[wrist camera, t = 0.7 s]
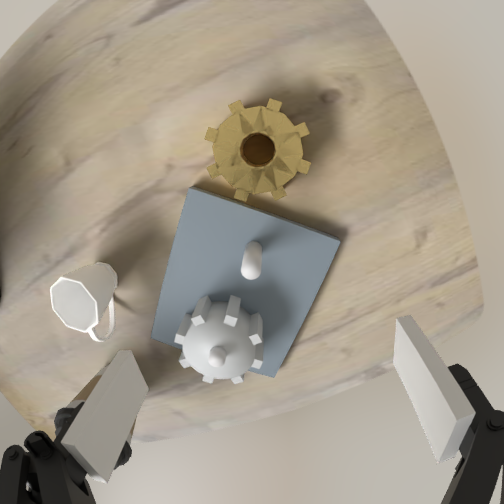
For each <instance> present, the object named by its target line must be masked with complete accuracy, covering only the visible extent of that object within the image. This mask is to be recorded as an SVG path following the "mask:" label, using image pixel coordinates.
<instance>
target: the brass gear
mask: <svg viewBox="0 0 504 504" xmlns="http://www.w3.org/2000/svg"><path fill="white" fill-rule="evenodd" d="M281 105H282V102H280V101H277V100H274V99H271V98H270V99H269V101H268V104H267V107H264V106H257V107H251V108H246V109H245V108H244V106H243V104H242V103H241V101H240V100H238V101H236V102H234V103H232V104H230V105H228V106H229V108H230V110H231V112H232V114H233V115H231V116H230V117H229V118H228V119H227V120H225V121H224V122H223V123H222V124H221V125H220V127H219V129H218V130H216V129H213V128H210V127H208V130H207V133H206V136H205V140H208V141H212V142H214V144H213V147H212V148H213V152H214V157H215V162H216V163H215V164H213V165H211V166H209V167H207V170H208V172H209V174H210V176H211V178H212V179H213V178H215V177H217V176H219V175H222V176H223V177H224V178H225V179H226V180H227V181H228V182H229V184H230V185H231V186H232V187H235V188H237V190H236V193H235V196H234V198H236V199H239V200H241V201H244V202H246V201H247V198H248V195H249V193H252V194H259V193H264V192H270V191H271V193H272V195H273V198H274V200H275V201H276V200H278V199H280V198H282V197H285V196H287V195H286V192H285V190H284V188H283V185H284V184H286V183H287V182H288V181H289V180H290V179H292V178H293V177H294V176H295V175H296V172H297V171H299V172H301V173H304V174H306V175H307V172H308V170H309V167H310V164H311V162H308V161H306V160H303V159H302V156H303V149H302V144H301V137H304V136H306V135H308V134H310V133H309V131H308V129H307V126H306V124H305V122H303V123H301V124H299V125H296V126H294V125H293V124H292V122H291V121H290V120H289V119H288V118H287V117H286V115H285V114H284V113H281V112H279V110H280V107H281ZM258 134H261V135H264V136H267V137H268V138H269V139H270V140H271V141H272V142H273V145H274V150H275V151H274V154H273V157H272V159H271V160H269V161H268V162H267V163H266V164H260V165H256V164H253V163H250V162H249V161H248V160H247V158H246V157H245V156H244V151H243V147H244V144H245V141H246V140H247V139H249V138H250V137H251V136H253V135H258Z"/></svg>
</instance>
